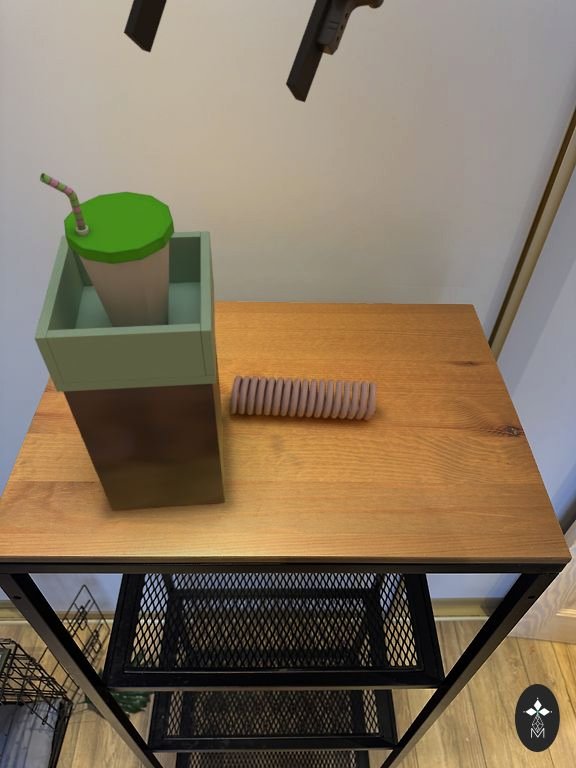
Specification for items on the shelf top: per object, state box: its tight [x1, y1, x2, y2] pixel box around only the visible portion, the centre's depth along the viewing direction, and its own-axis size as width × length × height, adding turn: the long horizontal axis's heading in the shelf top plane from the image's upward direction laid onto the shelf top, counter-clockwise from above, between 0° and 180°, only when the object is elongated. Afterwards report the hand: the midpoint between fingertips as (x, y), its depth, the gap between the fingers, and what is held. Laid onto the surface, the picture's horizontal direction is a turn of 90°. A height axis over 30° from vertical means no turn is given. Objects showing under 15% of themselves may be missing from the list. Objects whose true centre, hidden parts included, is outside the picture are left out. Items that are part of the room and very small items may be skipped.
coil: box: [229, 374, 377, 421], centre depth 69 cm, size 5×5×18 cm
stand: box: [62, 338, 226, 511], centre depth 58 cm, size 12×12×20 cm
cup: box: [39, 172, 175, 327], centre depth 44 cm, size 8×8×15 cm
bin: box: [34, 230, 217, 393], centre depth 48 cm, size 13×13×6 cm
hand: (213, 68), depth 42 cm, fingers open, 13 cm apart
